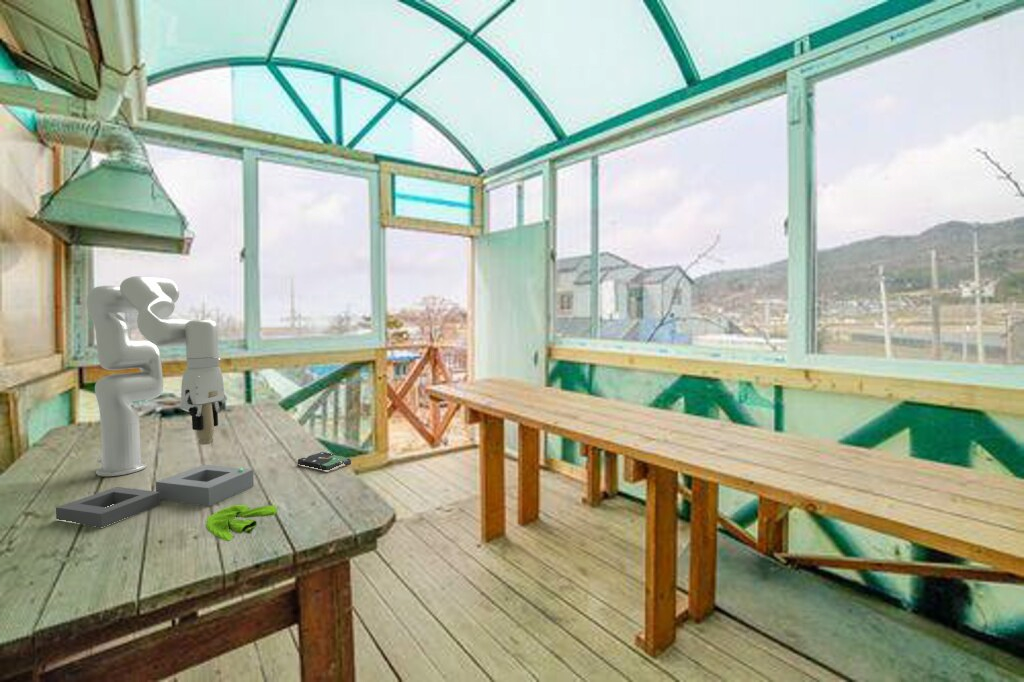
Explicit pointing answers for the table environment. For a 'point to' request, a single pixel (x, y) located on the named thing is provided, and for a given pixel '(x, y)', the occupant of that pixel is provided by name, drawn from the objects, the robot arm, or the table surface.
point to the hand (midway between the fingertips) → (205, 427)
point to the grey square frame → (99, 516)
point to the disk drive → (324, 461)
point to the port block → (205, 485)
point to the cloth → (225, 520)
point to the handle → (207, 422)
